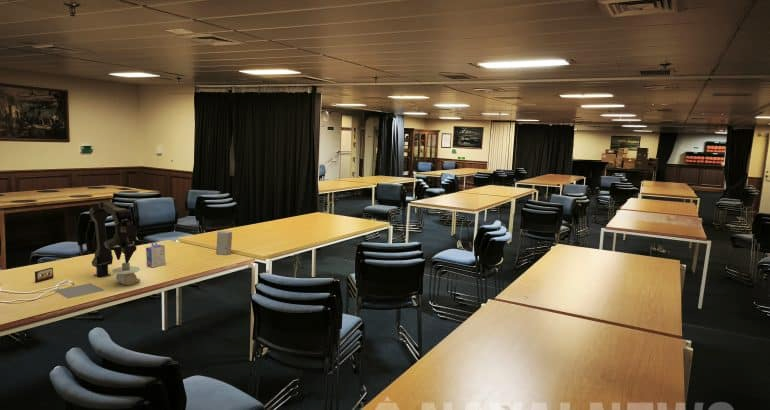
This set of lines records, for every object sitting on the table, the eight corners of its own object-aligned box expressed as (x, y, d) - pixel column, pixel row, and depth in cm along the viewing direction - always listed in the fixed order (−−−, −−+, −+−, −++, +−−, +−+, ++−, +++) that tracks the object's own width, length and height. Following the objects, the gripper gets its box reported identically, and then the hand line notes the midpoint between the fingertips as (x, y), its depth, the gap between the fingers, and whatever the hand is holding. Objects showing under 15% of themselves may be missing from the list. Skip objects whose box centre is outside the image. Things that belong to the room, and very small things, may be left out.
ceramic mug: (124, 287, 246) (124, 273, 245) (115, 284, 250) (115, 270, 249) (143, 283, 255) (143, 269, 254) (134, 280, 259) (134, 266, 258)
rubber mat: (53, 291, 235) (53, 290, 235) (90, 283, 249) (90, 283, 249) (67, 299, 226) (67, 298, 226) (105, 291, 239) (105, 290, 239)
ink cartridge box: (159, 263, 294) (159, 240, 292) (165, 264, 292) (165, 241, 290) (145, 266, 285) (145, 243, 283) (152, 268, 283) (151, 244, 281)
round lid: (107, 270, 249) (107, 263, 248) (132, 266, 259) (132, 258, 259) (118, 275, 241) (118, 268, 241) (144, 270, 252) (144, 263, 251)
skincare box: (215, 254, 322) (215, 231, 320) (221, 251, 329) (221, 230, 327) (227, 255, 321) (227, 232, 319) (232, 253, 328) (232, 231, 326)
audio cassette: (51, 278, 256) (51, 267, 255) (53, 278, 255) (53, 267, 255) (34, 282, 247) (34, 271, 246) (36, 283, 246) (36, 272, 246)
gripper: (97, 232, 246) (98, 260, 248) (114, 237, 235) (115, 267, 237) (119, 229, 255) (120, 257, 257) (136, 234, 244) (137, 263, 246)
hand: (122, 261), depth 249 cm, fingers open, 9 cm apart
